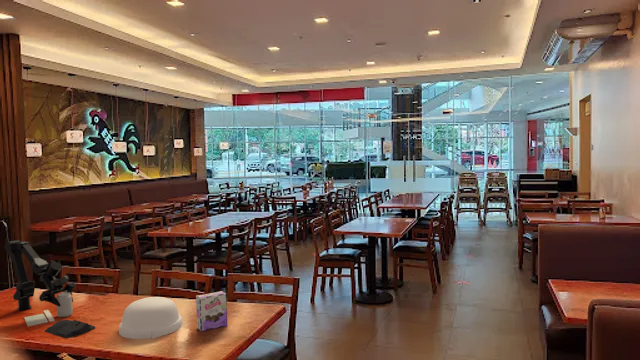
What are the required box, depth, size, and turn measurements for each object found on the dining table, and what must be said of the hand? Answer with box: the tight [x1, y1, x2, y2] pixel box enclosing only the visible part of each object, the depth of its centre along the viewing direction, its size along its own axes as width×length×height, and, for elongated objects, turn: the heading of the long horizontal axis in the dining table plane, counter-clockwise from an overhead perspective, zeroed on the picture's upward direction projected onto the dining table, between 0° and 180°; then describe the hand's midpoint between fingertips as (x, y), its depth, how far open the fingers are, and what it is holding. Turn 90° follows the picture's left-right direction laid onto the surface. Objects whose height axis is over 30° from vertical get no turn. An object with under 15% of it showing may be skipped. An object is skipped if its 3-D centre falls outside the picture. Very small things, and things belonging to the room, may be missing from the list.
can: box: [55, 292, 74, 318], centre depth 261 cm, size 8×8×12 cm
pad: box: [24, 313, 49, 327], centre depth 255 cm, size 16×9×1 cm, turn 37°
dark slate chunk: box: [44, 319, 96, 339], centre depth 239 cm, size 15×22×5 cm
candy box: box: [195, 290, 228, 332], centre depth 238 cm, size 14×6×16 cm, turn 122°
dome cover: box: [118, 296, 183, 340], centre depth 240 cm, size 32×30×14 cm
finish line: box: [43, 309, 56, 323], centre depth 261 cm, size 22×2×1 cm, turn 37°
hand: (66, 303), depth 260 cm, fingers closed on can, 7 cm apart
